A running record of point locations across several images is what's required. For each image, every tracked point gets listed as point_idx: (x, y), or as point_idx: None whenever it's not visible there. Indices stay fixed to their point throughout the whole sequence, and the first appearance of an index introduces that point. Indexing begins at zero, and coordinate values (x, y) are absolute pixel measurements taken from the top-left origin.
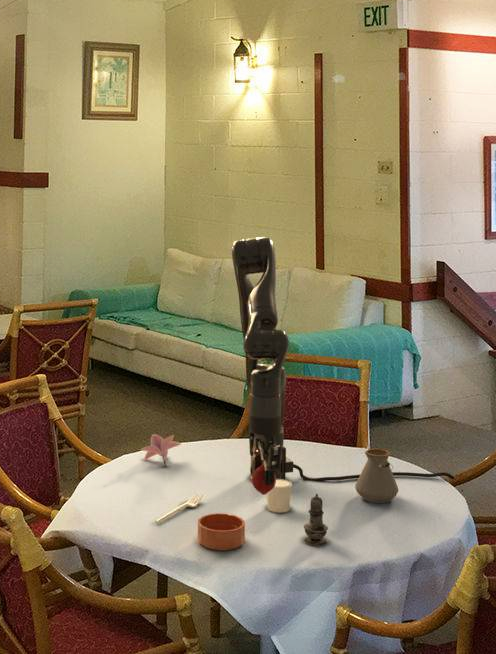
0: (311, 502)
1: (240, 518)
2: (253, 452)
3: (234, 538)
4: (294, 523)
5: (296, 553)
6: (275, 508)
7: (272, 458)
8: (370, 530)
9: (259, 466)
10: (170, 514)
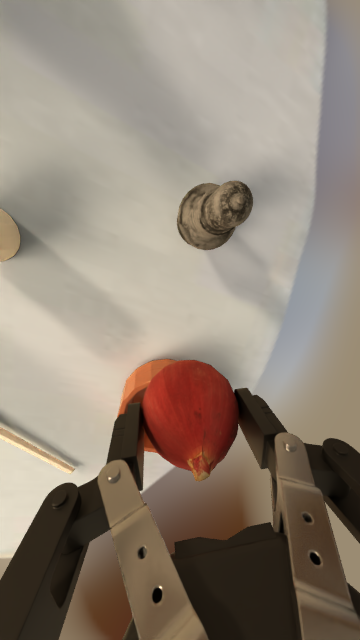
0: (232, 227)
1: None
2: (83, 540)
3: None
4: (93, 229)
5: (240, 283)
6: (12, 250)
7: None
8: (168, 21)
9: (141, 448)
10: (41, 453)
